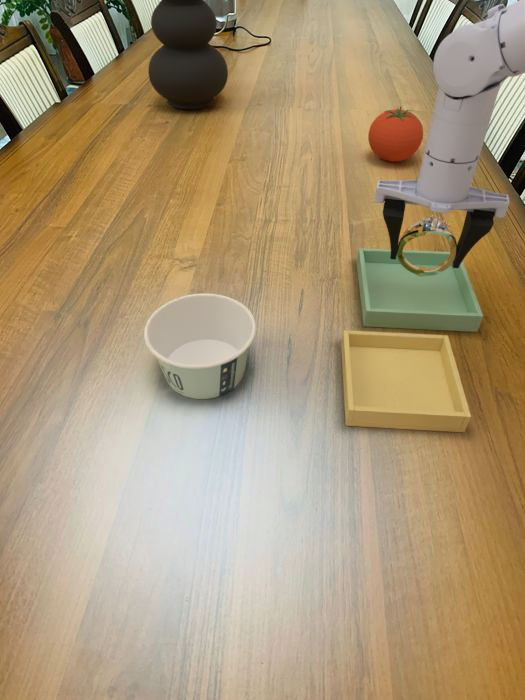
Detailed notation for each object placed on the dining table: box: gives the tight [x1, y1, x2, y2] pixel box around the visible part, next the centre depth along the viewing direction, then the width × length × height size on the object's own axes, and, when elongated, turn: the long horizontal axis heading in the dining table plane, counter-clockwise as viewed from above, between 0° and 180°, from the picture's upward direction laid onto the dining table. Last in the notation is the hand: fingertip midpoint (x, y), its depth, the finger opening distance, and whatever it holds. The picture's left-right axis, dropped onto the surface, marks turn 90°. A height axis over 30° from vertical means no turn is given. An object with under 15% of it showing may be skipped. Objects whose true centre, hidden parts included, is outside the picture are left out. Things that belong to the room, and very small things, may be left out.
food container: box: [143, 292, 257, 400], centre depth 57 cm, size 12×12×6 cm
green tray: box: [356, 247, 484, 333], centre depth 68 cm, size 14×14×3 cm
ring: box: [397, 214, 458, 277], centre depth 63 cm, size 7×3×8 cm, turn 70°
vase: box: [148, 0, 229, 110], centre depth 112 cm, size 18×18×35 cm
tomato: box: [367, 106, 424, 163], centre depth 98 cm, size 10×10×10 cm
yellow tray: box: [340, 329, 472, 433], centre depth 56 cm, size 12×12×3 cm
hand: (423, 259), depth 64 cm, fingers closed on ring, 7 cm apart
